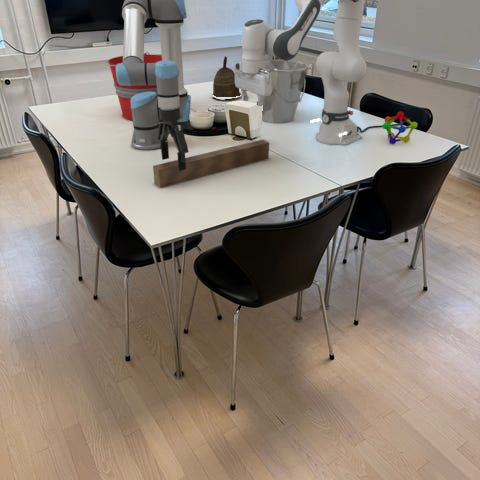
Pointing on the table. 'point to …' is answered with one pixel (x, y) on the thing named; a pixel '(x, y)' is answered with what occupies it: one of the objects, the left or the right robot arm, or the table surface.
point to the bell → (225, 82)
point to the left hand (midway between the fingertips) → (173, 164)
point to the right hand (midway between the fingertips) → (252, 103)
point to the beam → (211, 163)
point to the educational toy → (398, 128)
